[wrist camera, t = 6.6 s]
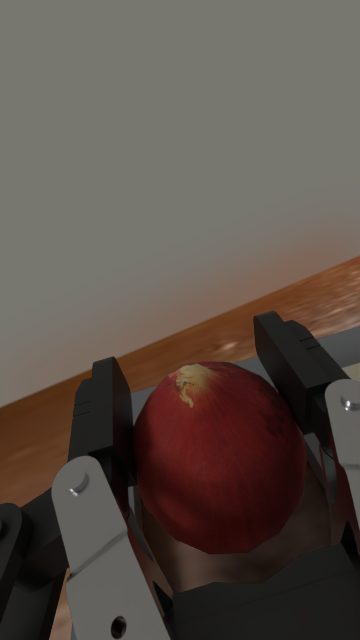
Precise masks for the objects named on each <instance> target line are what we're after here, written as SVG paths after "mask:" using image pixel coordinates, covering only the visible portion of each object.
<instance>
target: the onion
mask: <svg viewBox="0 0 360 640" xmlns="http://www.w3.org/2000/svg"><path fill="white" fill-rule="evenodd" d="M133 453H134V459H135V464H136V468H137V480H138V485H137V486H138V489H139V492H140V495H141V497H142V500H143V503H144V506H145V508H146V509H147V510H148V511H149V512H150V513H151V515H152V516H153V517H154V518H155V519H156V520H157V521H158V522H159V523H160V524H161V526H162V527H163V528H164V529H165V530H166V531H167V532H168V533H169V534H170V535H171V536H172V537H173V538H175V539H176V540H178V541H180V542H182V543H185V544H187V545H189V546H192V547H194V548H196V549H199V550H201V551H203V552H206V553H208V554H227V553H248V552H249V551H251V550H253V549H254V548H256V547H257V546H259V545H261V544H262V543H264V542H265V541H267V540H269V539H270V538H272V537H273V536H275V535H277V534H278V533H279V532H280V531H281V530H282V528H283V527H284V525H285V523H286V522H287V520H288V518H289V516H290V515H291V513H292V512H293V510H294V509H295V507H296V506H297V504H298V502H299V499H300V497H301V495H302V491H303V484H304V478H305V471H306V464H307V456H306V450H305V445H304V442H303V438H302V435H301V432H300V429H299V427H298V425H297V424H296V422H295V420H294V418H293V415H292V412H291V410H290V408H289V405H288V403H287V402H286V401H285V400H284V399H283V397H282V396H281V395H280V394H279V393H278V392H277V391H276V390H275V389H274V388H273V387H272V386H271V384H270V383H269V382H268V381H266V380H265V379H264V378H263V377H262V376H260V375H258V374H256V373H253V372H251V371H249V370H247V369H244V368H242V367H240V366H238V365H235V364H232V363H229V362H199V363H195V364H189V365H186V366H183V367H180V368H179V369H178V370H177V371H175V372H173V373H171V374H169V375H168V376H167V377H166V378H165V379H164V380H163V381H162V382H161V383H160V384H159V385H158V386H157V387H156V388H155V389H154V390H153V391H152V392H151V394H150V395H149V397H148V399H147V400H146V402H145V404H144V406H143V408H142V410H141V412H140V413H139V415H138V417H137V419H136V422H135V424H134V429H133Z"/></svg>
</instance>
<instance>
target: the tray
mask: <svg viewBox="0 0 360 640" xmlns="http://www.w3.org/2000/svg"><path fill="white" fill-rule="evenodd" d="M316 340H317V341H318V342H319V343H320V344H321V347H323V348H324V349H325V350H326V351H327V352H328V353H329V355H330V356H331V357H332V358H333V359H334V360H335V361H336V363H337V364H338V365H339V366H340V367H341V368H342V369H343V371H344V372H345V373H346V374H347V375H348V376H349V377H350V378H351V379H352V380H357V381H360V327H356V328H353V329H349V330H346V331H343V332H339V333H336V334H332V335H329V336H325V337H322V338H319V339H316ZM233 364H235V365H238V366H240V367H242V368H244V369H247V370H249V371H251V372H253V373H256V374H258V375H260V376H262V377H263V378H264V379H265V380H266V381H268V382H269V383H270V384H271V386H272V387H273V388H274V389H275V390H276V391H277V389H276V388H275V386H274V384H273V382H272V381H271V379H270V377H269V376H268V374H267V372H266V370H265V369H264V367H263V365H262V364H261V362H260V360H259V357H258V356H257V357H253V358H250V359H247V360H243V361H240V362H236V363H233ZM157 386H158V385H157ZM157 386H154V387H151V388H147V389H144V390H140V391H137V392H133V393H131V399H132V412H133V425H134V424H135V422H136V419H137V417H138V415H139V413H140V412H141V410H142V408H143V406H144V404H145V402H146V400H147V399H148V397H149V395H150V394H151V392H152V391H153V390H154V389H155V388H156V387H157ZM277 392H278V391H277ZM300 432H301V430H300ZM301 435H302V438H303V442H304V445H305V450H306V456H307V460H308V462H309V464H310V466H311V468H312V469H313V471H314V473H315V475H316V477H317V478H318V480H319V482H320V484H321V486H322V487H323V489H324V491H325V493H326V488H325V482H324V476H323V470H322V464H321V458H320V452H319V440H318V439H317V437H316V436H315V434H314V433H311V434H307V435H304V436H303V434H302V432H301ZM128 494H129V504H130V506H131V508H132V510H133V512H134V515H135V517H136V519H137V521H138V523H139V525H140V527H141V530H142V532H143V534H144V530H143V517H142V504H141V495H140V492H139V489H138V486H137V485H135V486H131V487H128ZM326 495H327V494H326ZM71 640H77V638H76V634H75V630H74V626H73V621H72V632H71Z"/></svg>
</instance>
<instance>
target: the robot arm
mask: <svg viewBox="0 0 360 640" xmlns="http://www.w3.org/2000/svg"><path fill="white" fill-rule="evenodd" d="M253 321H254V333H255V345H256V351H257V354H258V357H259V360H260V362H261V364H262V365H263V367H264V369H265V370H266V372H267V374H268V376H269V377H270V379H271V381H272V382H273V384H274V386H275V388H276V389H277V391H278V393H279V394H280V395H281V396H282V397H283V399H284V400H285V401H286V402H287V403H288V405H289V408H290V410H291V412H292V415H293V418H294V420H295V422H296V424H297V425H298V427H299V429H300V430H301V432H302V434H303V436H304V435H307V434H311V433H314V434H315V436H316V437H317V439H318V440H319V452H320V458H321V464H322V470H323V476H324V482H325V488H326V494H327V500H328V507H329V515H330V534H331V542H332V546H329V547H326V548H323V549H320V550H316V551H313V552H310V553H307V554H303V555H300V556H299V557H297V558H296V559H295V560H293V561H292V562H291V563H289V564H288V565H287V566H285V567H284V568H283V569H281V570H280V571H279V572H277V573H276V574H275V575H273V576H272V577H271V578H269V579H268V580H267V581H265V582H264V583H261V584H245V583H219V582H213V583H210V584H207V585H204V586H200V587H197V588H194V589H191V590H187V591H184V592H181V593H178V594H175V595H174V593H173V591H172V589H171V587H170V585H169V583H168V581H167V580H166V578H165V576H164V574H163V573H162V571H161V569H160V567H159V566H158V564H157V562H156V560H155V557H154V555H153V553H152V551H151V549H150V547H149V545H148V542H147V540H146V538H145V536H144V534H143V532H142V530H141V527H140V525H139V523H138V521H137V519H136V517H135V515H134V512H133V510H132V508H131V506H130V504H129V494H128V487H131V486H135V485H138V480H137V468H136V464H135V459H134V453H133V429H134V425H133V412H132V399H131V393H130V389H129V386H128V384H127V381H126V379H125V377H124V375H123V373H122V371H121V369H120V367H119V364H118V362H117V360H116V359H115V357H110V358H106V359H103V360H99V361H96V362H94V363H93V368H92V378H88V379H85V380H83V381H82V382H81V384H80V386H79V388H78V390H77V392H76V395H75V404H74V406H75V408H74V412H73V417H74V419H73V421H72V429H71V437H70V446H69V454H68V461H67V464H66V465H65V466H64V467H62V469H61V470H60V471H59V472H58V474H57V475H56V477H55V479H54V482H53V485H52V487H51V488H50V489H49V490H47V491H46V492H44V493H43V494H41V495H40V496H38V497H37V498H35V499H33V500H32V501H30V502H29V503H27V504H26V505H24V506H23V507H21V508H19V507H18V506H17V505H15V504H12V503H4V504H0V640H49V637H50V633H51V629H52V625H53V621H54V617H55V613H56V609H57V605H58V601H59V597H60V593H61V589H62V585H63V581H64V577H65V573H66V569H67V568H69V567H70V576H69V577H68V578H67V581H66V594H67V599H68V604H69V608H70V613H71V617H72V621H73V626H74V630H75V634H76V638H77V640H360V381H357V380H352V379H351V378H350V377H349V376H348V375H347V374H346V373H345V372H344V371H343V369H342V368H341V367H340V366H339V365H338V364H337V363H336V361H335V360H334V359H333V358H332V357H331V356H330V355H329V353H328V352H327V351H326V350H325V349H324V348H323V347H321V344H320V343H319V342H318V341H317V340H316V339H314V336H313V335H312V334H311V333H310V332H309V331H308V330H307V328H306V327H305V326H303V325H301V324H299V323H297V322H295V321H293V320H290V321H287V322H284V321H283V320H282V319H281V317H280V316H279V315H278V314H277V313H276V312H275V311H271V312H267V313H264V314H260V315H257V316H254V319H253Z"/></svg>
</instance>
